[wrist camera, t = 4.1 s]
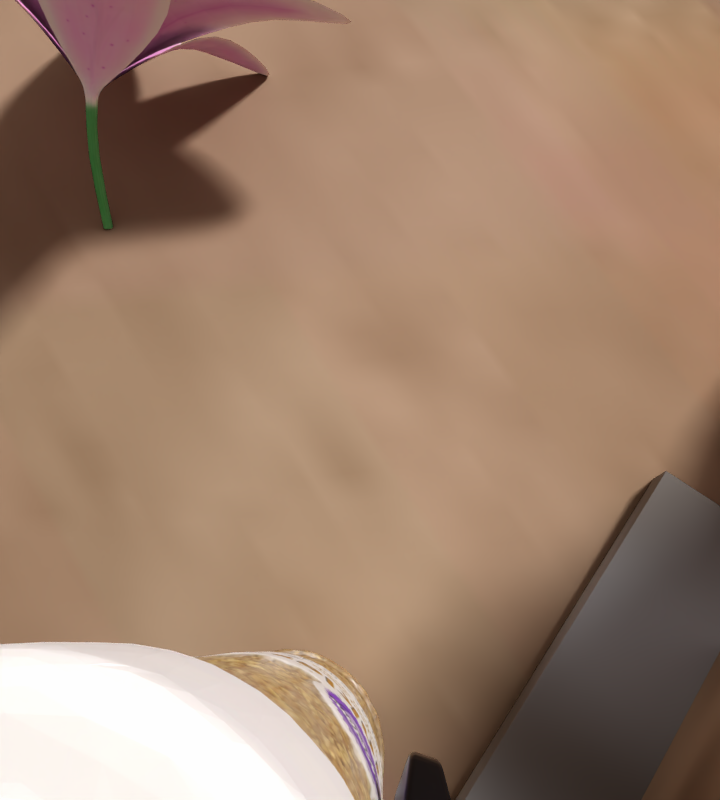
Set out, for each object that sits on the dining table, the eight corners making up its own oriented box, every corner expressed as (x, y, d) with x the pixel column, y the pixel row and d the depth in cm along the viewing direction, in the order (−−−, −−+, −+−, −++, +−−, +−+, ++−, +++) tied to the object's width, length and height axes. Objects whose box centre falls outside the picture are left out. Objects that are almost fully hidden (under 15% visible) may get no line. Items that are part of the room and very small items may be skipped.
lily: (389, 213, 22) (410, -164, 16) (60, 358, 15) (-130, -210, 9) (179, 132, 28) (135, -161, 22) (-122, 209, 21) (-307, -186, 15)
